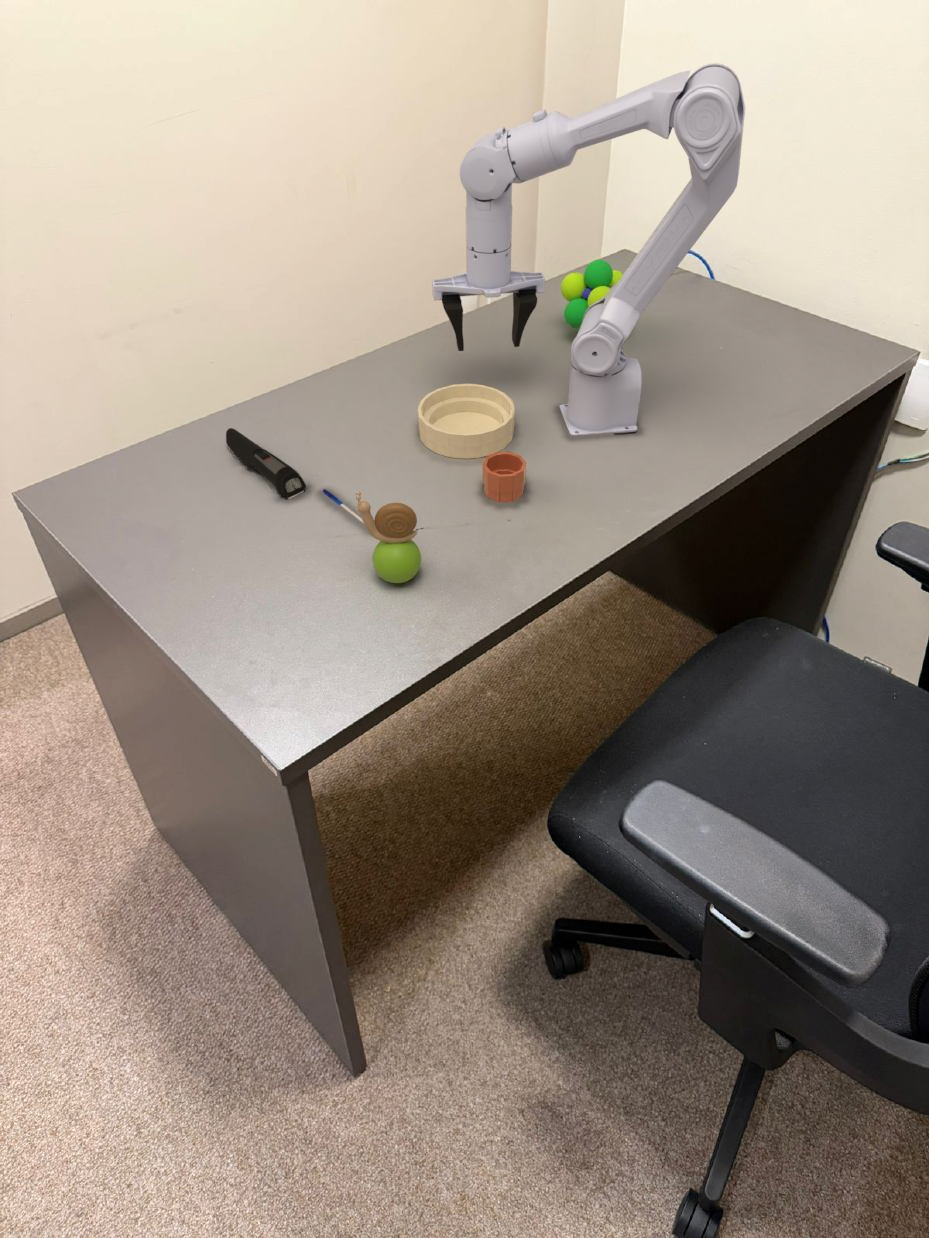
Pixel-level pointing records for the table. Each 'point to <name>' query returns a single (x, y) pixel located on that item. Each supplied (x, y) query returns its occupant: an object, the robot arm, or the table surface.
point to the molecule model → (587, 289)
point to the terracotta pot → (504, 476)
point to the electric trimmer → (266, 464)
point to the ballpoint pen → (341, 504)
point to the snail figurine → (392, 540)
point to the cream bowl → (466, 421)
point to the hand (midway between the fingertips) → (488, 345)
